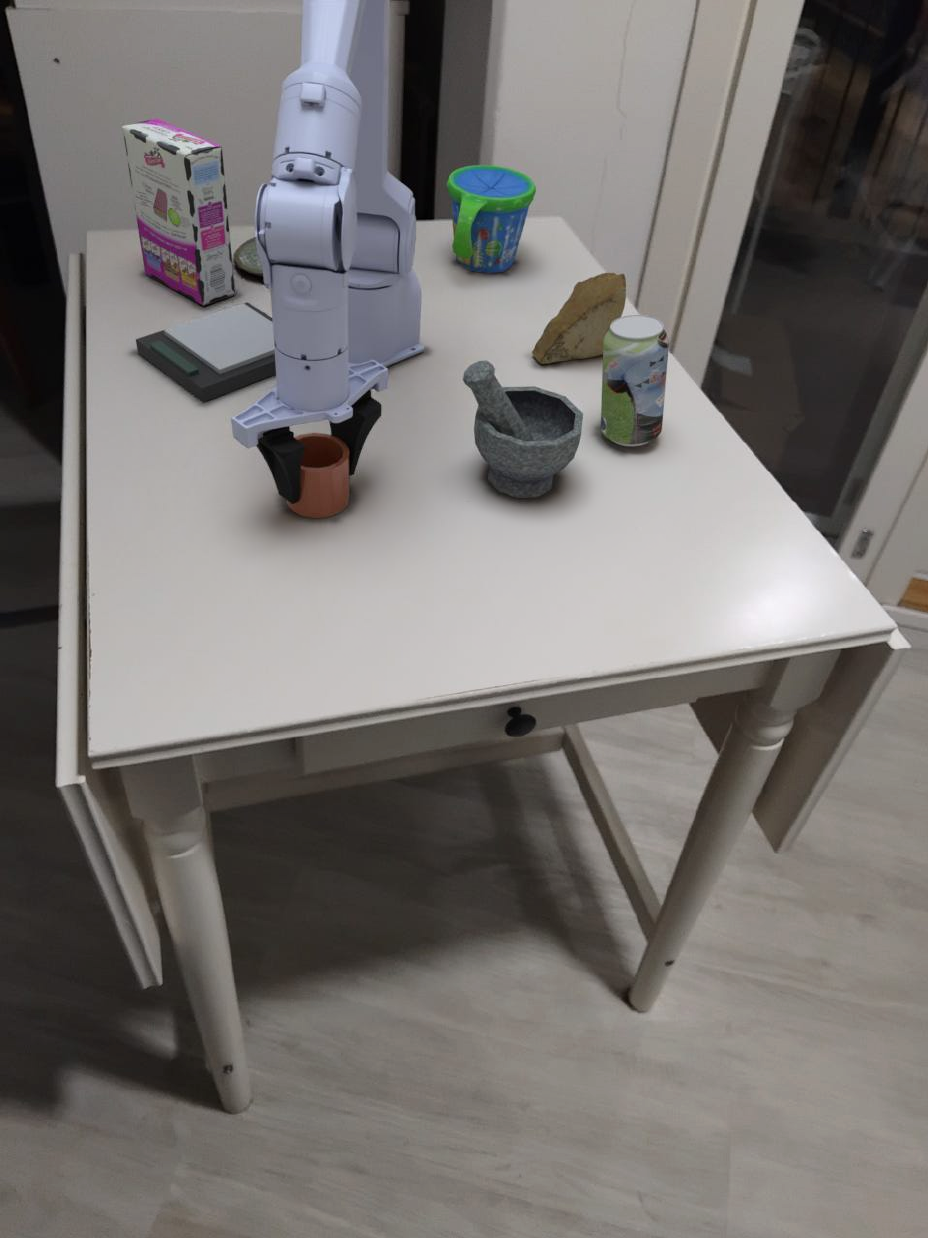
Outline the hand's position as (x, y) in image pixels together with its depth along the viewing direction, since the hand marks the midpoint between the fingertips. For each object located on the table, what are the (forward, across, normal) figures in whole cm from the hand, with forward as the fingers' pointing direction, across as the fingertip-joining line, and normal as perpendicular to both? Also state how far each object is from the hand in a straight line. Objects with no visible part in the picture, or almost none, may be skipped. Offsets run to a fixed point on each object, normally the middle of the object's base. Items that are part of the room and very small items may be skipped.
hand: (316, 483), depth 83 cm
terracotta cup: (+2, 0, 0) cm, 2 cm away
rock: (+2, +39, +3) cm, 39 cm away
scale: (+2, +8, +25) cm, 26 cm away
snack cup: (+2, +47, +25) cm, 53 cm away
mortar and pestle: (+2, +16, -9) cm, 18 cm away
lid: (+2, +25, +39) cm, 46 cm away
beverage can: (+2, +30, -11) cm, 32 cm away
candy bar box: (+2, +14, +41) cm, 43 cm away
